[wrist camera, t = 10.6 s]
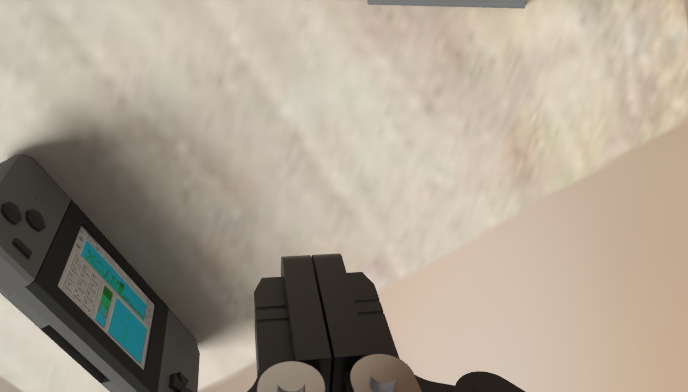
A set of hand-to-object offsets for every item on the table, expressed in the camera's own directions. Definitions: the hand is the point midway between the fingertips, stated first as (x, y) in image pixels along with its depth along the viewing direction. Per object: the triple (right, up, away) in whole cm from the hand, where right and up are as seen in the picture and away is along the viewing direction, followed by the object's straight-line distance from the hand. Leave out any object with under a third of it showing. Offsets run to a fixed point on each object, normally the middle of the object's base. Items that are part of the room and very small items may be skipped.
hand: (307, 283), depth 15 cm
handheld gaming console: (-18, -3, +33) cm, 38 cm away
